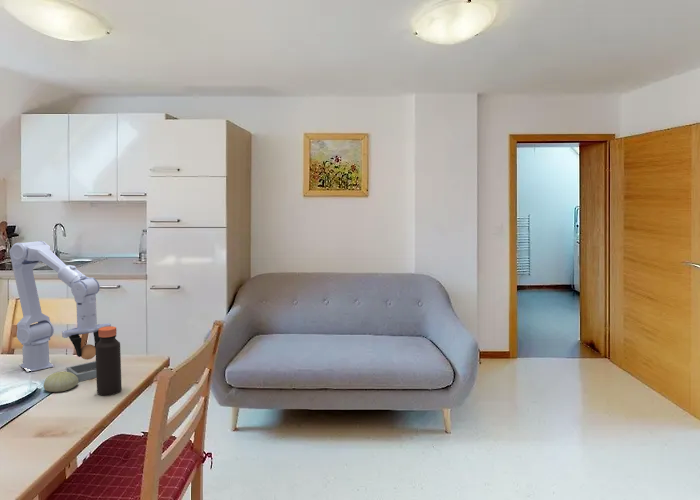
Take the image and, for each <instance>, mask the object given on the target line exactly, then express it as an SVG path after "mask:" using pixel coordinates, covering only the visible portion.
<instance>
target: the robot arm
mask: <svg viewBox="0 0 700 500" xmlns="http://www.w3.org/2000/svg"><path fill="white" fill-rule="evenodd" d="M51 248H52V247H51V246H50V245H49V244H48V243H47V242H46V241H44V240H38V241H26V242H16V243H14V244H13V245H12V246H11V247H10V249H9V258H10V261H11V267H12V270H13V275H14V279H15V283H16V289H17V293H18V294H17V295H18V298H19V302H20V306H21V308H20V309H21V312H22V318H21V319H20V320H19V321H18V322H17V324H16V327H17V332H16V338H17V340H18V342H20V344H21V345H22V348H21V349H22V351H21V352H22V363H21V364H19V366H20V368H22V369H23V368H27V369H30V370H31V372H35V371H40V370H45V369H49V368H54V364H53V363H51V362H50V345H49V344H50V342H49V341H51V338H52V336H53V334H55V333H54V332H55V328H54V325H53V324H52V322H51V320H50V316H48V315H47V314H44V313H43V311H42V307H41V302H40V297H39V294H38V289H37V284H36V280H35V275H34V269H35V267H36V266H37V265H38V264H39V263H42V264H44V265H46V266H47V267H49V268H50V269H52V270H53V271H55V272H56V273H57V278H58V279H59V280H61V281H62V282H63V283H64V284H65V285H67V286H68V287H69V288H70V290H71V293H72V295H73V297H74V302H75V303H76V323H77V324H76V325H77V326H76V327H74V328H71V329H67V330H62V331H61V335H62V338H64V339H66V338H67V339H69V340H70V341H71V343H72V345H73V347H74V350H75V352H76V356H77V357H78V358H82V357H81V355H82V353H81V348H82V339H83V338H82V337H81V336H82V335H85V334H91V333H92V334H93V341H94V346H96V344H97V343H98V342H99V341H100V338H99V335H98V329H99V328H102V327H108V326H112V324H111V323H102V324H100V323H99V324H98V322H97V320H98V318H97V296H96V295H97V294H98V293H99V291H100V288H101V287H100V286H101V285H100V282H99V281H98V280H97V279H96V278H95V277H89V276H87V275H86V274H84V273H82V272H81V271H80V270H78V268H77V266H76V265H72V264H66V263H65V262H64V261H62V260H61V259H60V258H59V256H57V255H56V254H55V253H54V252H53V251H52V249H51ZM80 335H81V336H80Z"/></svg>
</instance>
